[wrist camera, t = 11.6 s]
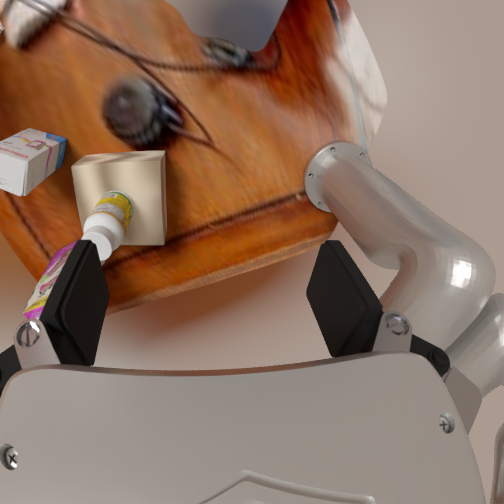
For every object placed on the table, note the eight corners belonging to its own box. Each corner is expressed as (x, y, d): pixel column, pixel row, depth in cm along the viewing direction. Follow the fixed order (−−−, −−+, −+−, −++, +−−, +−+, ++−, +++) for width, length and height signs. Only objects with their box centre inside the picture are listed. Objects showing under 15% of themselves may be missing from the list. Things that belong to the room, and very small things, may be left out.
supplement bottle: (111, 182, 32) (86, 217, 24) (141, 203, 35) (126, 243, 27) (93, 210, 34) (69, 249, 26) (122, 229, 37) (105, 272, 29)
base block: (165, 150, 36) (160, 160, 32) (167, 227, 43) (164, 245, 39) (84, 155, 33) (71, 166, 29) (95, 228, 41) (86, 245, 37)
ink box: (68, 136, 31) (28, 162, 21) (62, 166, 33) (25, 199, 24) (28, 126, 27) (-16, 149, 18) (24, 154, 30) (-18, 184, 20)
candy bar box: (96, 228, 41) (62, 297, 28) (110, 250, 44) (85, 321, 31) (55, 249, 41) (21, 314, 28) (69, 268, 44) (41, 334, 31)
